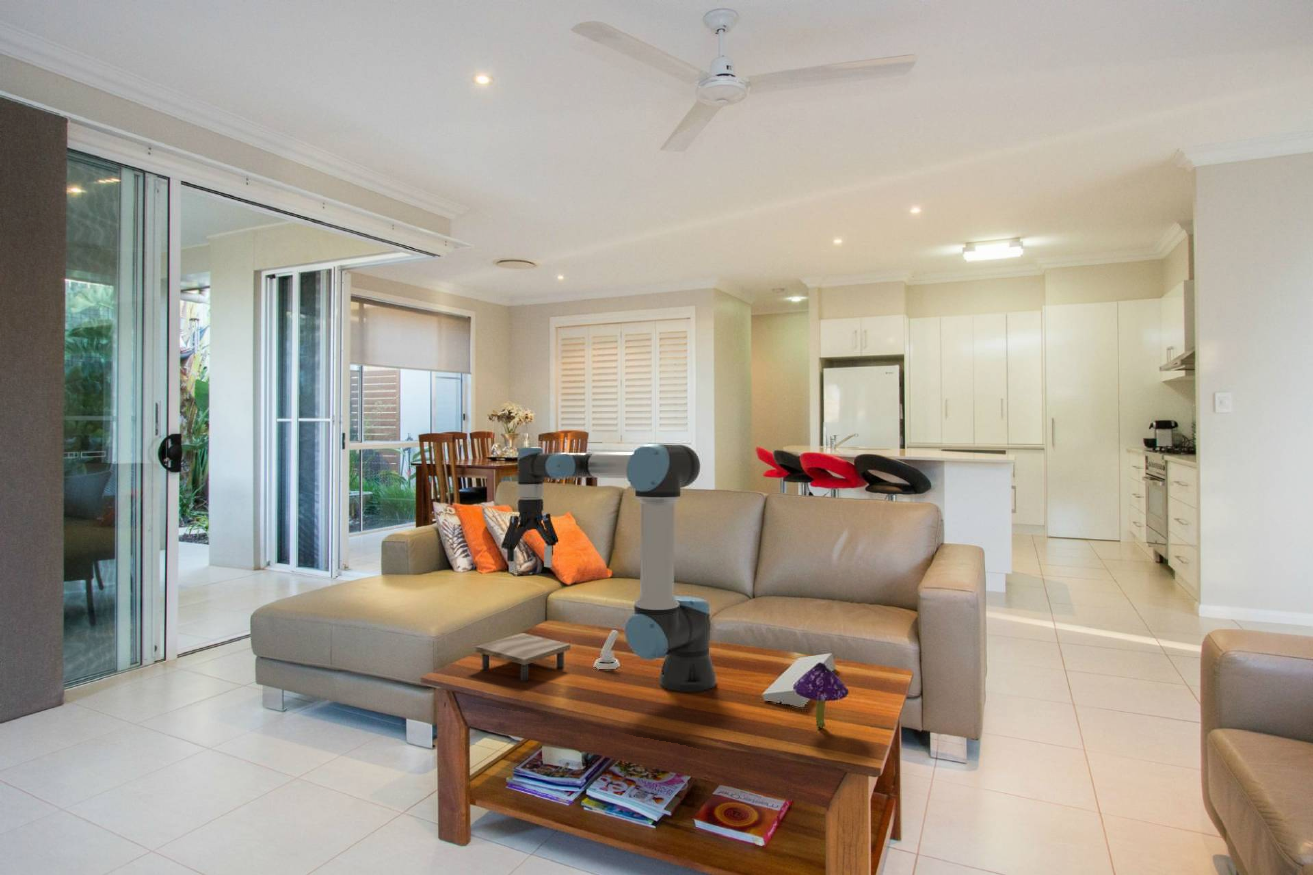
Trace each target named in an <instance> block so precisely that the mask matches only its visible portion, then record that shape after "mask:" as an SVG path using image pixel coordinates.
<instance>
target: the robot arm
mask: <svg viewBox="0 0 1313 875" xmlns="http://www.w3.org/2000/svg"><path fill="white" fill-rule="evenodd" d="M516 462H517V497H518V498H519V499H518V500H517V511H518V513H519V515H510V517H509V524H508V527H507V530H506V532H505V535H504V537H503V541H502V543H501V546H500V547H501V549H503V550H505V551H507V552H506V554H507V555H506V557H507V558H506V560H507V562H508V572H509V573H513V574H517V573H518V550H517V549H516V547H517V546H518V544H519V542H520V541H521V540H522V538H523V536H524V535H525V533H527V531H531V530H536V532H537V533H538V535H539V536H540V537H541V538H542V540H543V542H544V543H545V544H544V545H543V568H544V567H545V568H552V567H553V556H554V546H556V544H557V543H559V541H560V540H559V538H558V536H557V532H556V530H555V527H554V525H553V522H552V517H551V513H547V512H546V513H545V512H543V511H544V500H543V497H544V479H545V480H546V479H547V480H548V479H550V480H564V479H573V478H575V479H576V478H578V479H579V478H591V479H592V478H594V479H595V478H598V479H599V478H602V479H603V478H608V479H626V480H627V481H628V482H629V483H630V484H629V485H630V486H631V487H632V488H633V489H634V493H635V498H636V499H637V501H639V503H640V579H639V580H640V582H639V584H640V588H639V589H640V591H639V592H640V593H639V594H640V595H639V597H638V598H637V599H636V600H635V601H634V602H633V604H634V607H633V608H634V609H633V611H634V612H633V613H634V614H633V615H631V616H630V617H629V619H628V620H627V621H626V623H625V627H624V636H625V640H626V643H627V645H628V646H629V648H630V649H631V651H632V652H633V653H634V655H636V656H637V657H638V658H640V659H643V660H646V661H647V660H650V661H651V660H655V659H661V658H663V657H664V656H665V657H664V661H663V664H662V667H661V670H660V673H659V683H660V685H661V686H662V688H665V689H666V690H669V691H670V690H671V691H674V692H678V693H680V692H681V693H697V692H698V693H699V692H703V691H704V692H705V691H708V690H711V689H713V688H714V687H715V686H716V685H717V683H716V679H717V678H716V676H717V675H716V672H715V670H714V666H713V663H712V659H711V656H710V618H711V617H710V616H711V613H710V604H709V602H708V600H705V599H704V598H700V597H693V596H684V595H683V596H682V595H674V594H675V593H674V592H675V581H674V580H675V504H676V502H678V500H680V498H681V489H682V488H685V487H689V486H690V485H691V484H693V483H694V482H695V481H696V480H697V478H698V477H699V474H700V470H701V462H700V459H699V456H698V454H697V453H696V452H695V450H694V449H693V448H691V447H689V446H688V445H687V446H686V445H684V444H661V443H660V444H659V443H653V444H644V445H640V446H639V447H637V448H636V449H635V450H634V451H633V452H628V451H627V452H551V453H550V452H549V453H544V449H543V447H539V446H531V447H530V446H527V447H525V446H523V447H519V449H518V450H517V461H516ZM710 688H711V689H710Z"/></svg>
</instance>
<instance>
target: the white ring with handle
mask: <svg viewBox="0 0 1313 875" xmlns="http://www.w3.org/2000/svg"><path fill="white" fill-rule="evenodd" d="M618 636H619V632H618V631H617V630H614V629H613V630H611V632H610V634H608V637H607V638H606V640H605V643H604V645H603V647H602V649H601V652H600V656H599V657H600V658H597V659H596V660H595V662H594V664H593V668H594V667H596V668H597V669H596V668H595V669H596V670H599V669H614V670H617V669H618V668H617V667H619V666H620V662H619V659H617V658H615V652H613V651H612V648H613V646H614V644H615V642H616V640H617V638H618ZM599 662H604V663H599ZM611 662H614V663H611ZM620 667H621V666H620ZM620 667H619V668H620ZM616 668H617V669H616Z"/></svg>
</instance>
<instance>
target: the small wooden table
mask: <svg viewBox="0 0 1313 875" xmlns="http://www.w3.org/2000/svg"><path fill="white" fill-rule="evenodd" d="M569 650H571V644H570V643H567V642H563V641H560V640H559V641H558V640H554V639H549V638H546V637H541V636H537V635H532V634H528V633H525V632H521V633H517V634H515V635H512V636H507V637H504V638H500V639H497V640H494V641H491V642H486V643H482V644H480V645H476V646H475V652H476V653H479V654H481V655H482V656H481V658H482V660H481V669H482V668H483V669H488V668H489V669H490V657H494V658H498V659H500V660H505V661H508V662H511V663H516V664H518V665H520V681H521V682H527V680H528V681H529V664H531V663H534V662H537V661H540V660H542V659H546V658H550V657H553V656H555V655H556V668H557V667H558V668H557V669H563V668H564V666H565V652H567V651H569ZM562 667H563V668H562ZM489 669H488V670H489Z"/></svg>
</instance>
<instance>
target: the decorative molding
mask: <svg viewBox="0 0 1313 875" xmlns="http://www.w3.org/2000/svg"><path fill="white" fill-rule="evenodd" d="M819 662H822V663H824V664H825V665H826V667H827V668H828V669H829V670H830V671H833V670H834V669H835V670H836V665H835V664H836V663H835V660H834V657H833V653H825V654H824V653H823V654H817V655H811V656H803V657H798V658H797V659H796V660H795V661H794V662H793V663H792V664H790V666H789V667H788V668H787V669H786V670H785V671H784V672H783V673H782V674H781V675H780V676H779V677H777V679H776V680H775V681H774V682H772V683H771V684H770V685H769V687H768V688H767V689H766V690H765V691H764V692H762V694H761V695H762V697H763V700H764V701H765V700H766V701H773V702H777V703H780V702H781V703H780V704H781V705H782V704H783V705H789V704H790V706H791V705H794V706H803V707H804V706H805V704H806V705H807V704H808V703H809V702H810V701H811V700H810V699H808V698H805V697H802V696H800V695H798V694H797V693H796V692H795V691H794V689H793V685H794V684H795V683H796V682H797V681H798V680H799V679H800V678H801V677H802V676H803V675H804V674H805V673H806V672H808V671H809V670H810V669H812V668H813V667H814V666H815V665H816V664H817V663H819ZM835 670H834V671H835ZM834 671H833V672H834ZM809 700H810V701H809ZM808 701H809V702H808ZM807 702H808V703H807ZM805 707H806V706H805ZM805 707H804V708H805Z"/></svg>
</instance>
